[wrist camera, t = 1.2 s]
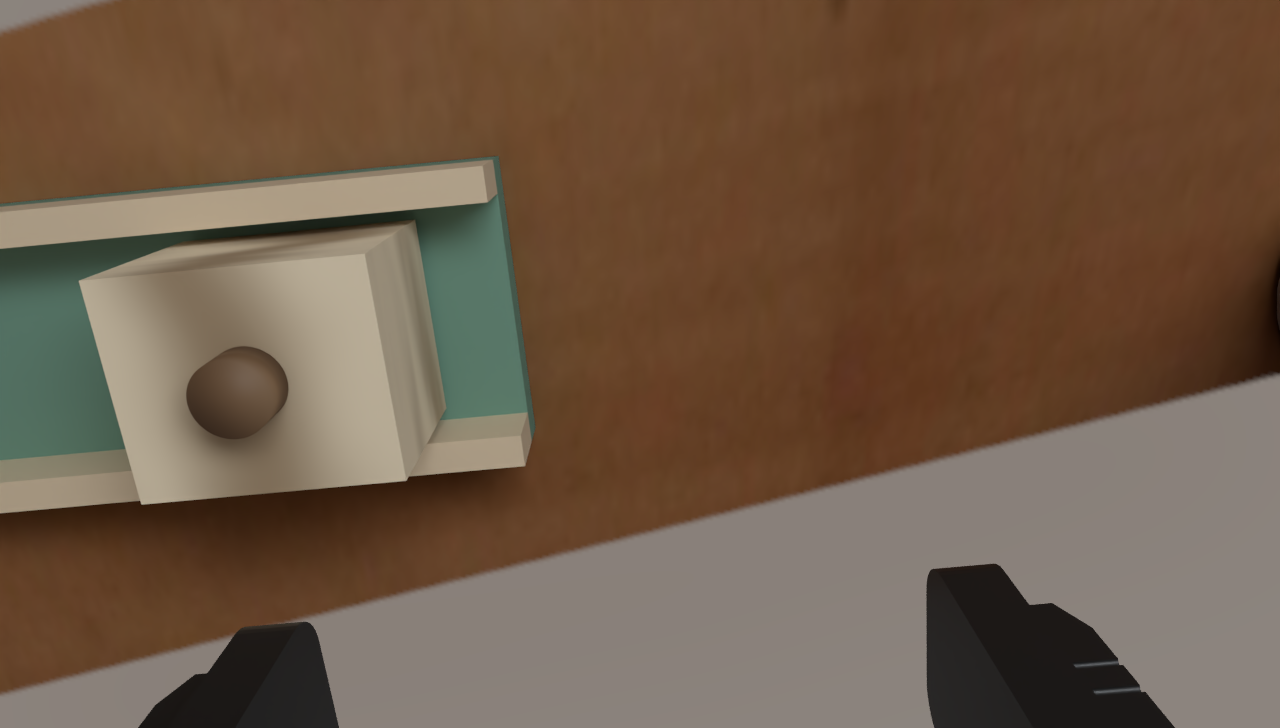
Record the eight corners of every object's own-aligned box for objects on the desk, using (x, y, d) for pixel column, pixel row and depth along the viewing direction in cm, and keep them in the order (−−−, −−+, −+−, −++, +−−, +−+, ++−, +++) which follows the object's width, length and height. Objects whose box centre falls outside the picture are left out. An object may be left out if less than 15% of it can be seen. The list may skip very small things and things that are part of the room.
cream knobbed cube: (415, 219, 28) (350, 263, 21) (446, 408, 29) (395, 501, 23) (183, 241, 28) (49, 291, 21) (228, 428, 29) (117, 525, 23)
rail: (498, 156, 28) (463, 177, 23) (535, 427, 31) (513, 510, 25) (-265, 229, 29) (-495, 269, 23) (-163, 491, 32) (-346, 587, 26)
